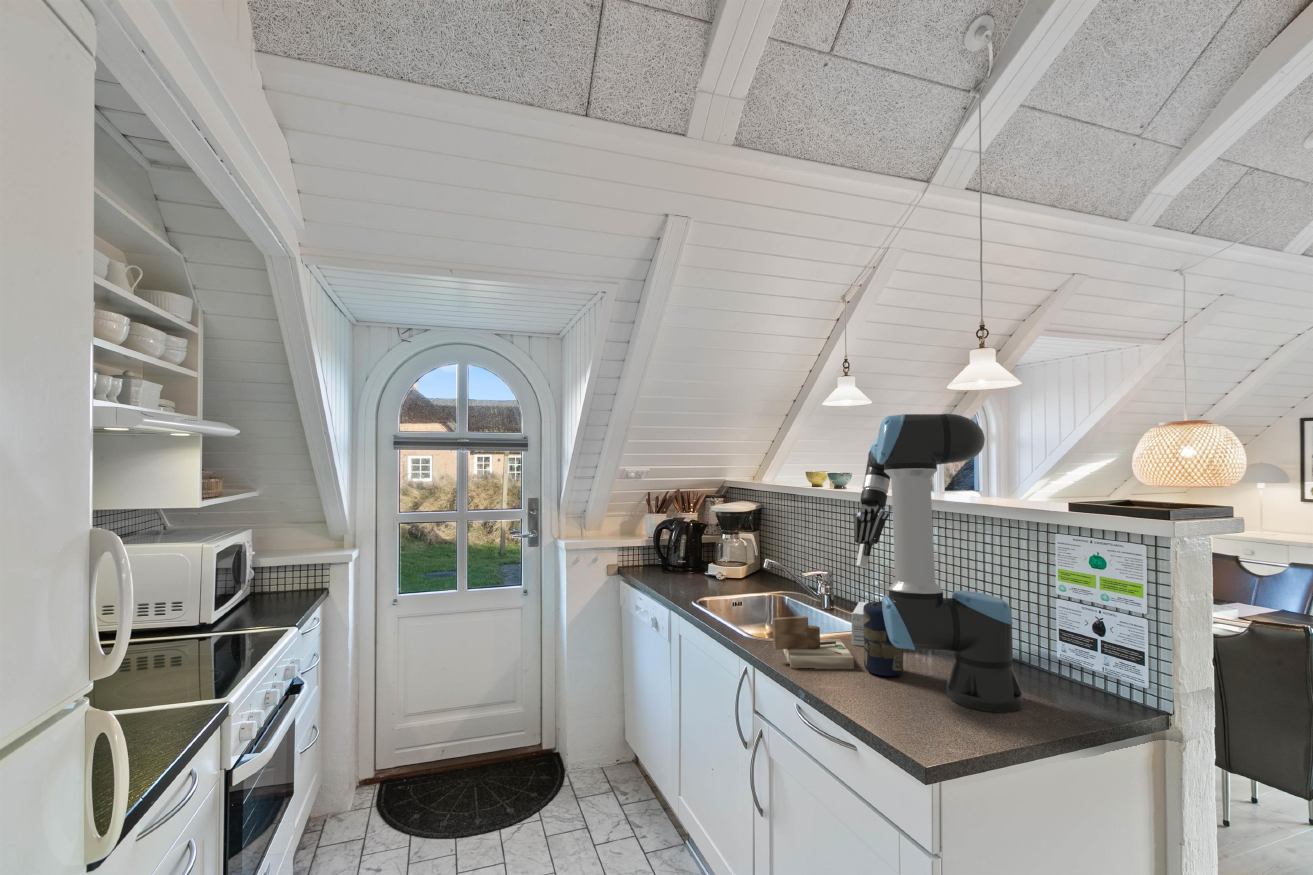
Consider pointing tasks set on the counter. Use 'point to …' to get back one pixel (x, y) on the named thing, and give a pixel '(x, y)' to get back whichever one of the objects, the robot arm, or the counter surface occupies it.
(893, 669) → the canister
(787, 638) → the brown stepped wooden block
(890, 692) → the counter surface
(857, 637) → the supplement box
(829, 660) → the dial board
